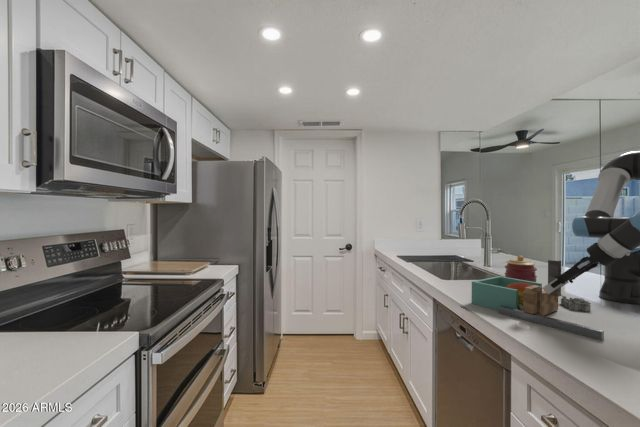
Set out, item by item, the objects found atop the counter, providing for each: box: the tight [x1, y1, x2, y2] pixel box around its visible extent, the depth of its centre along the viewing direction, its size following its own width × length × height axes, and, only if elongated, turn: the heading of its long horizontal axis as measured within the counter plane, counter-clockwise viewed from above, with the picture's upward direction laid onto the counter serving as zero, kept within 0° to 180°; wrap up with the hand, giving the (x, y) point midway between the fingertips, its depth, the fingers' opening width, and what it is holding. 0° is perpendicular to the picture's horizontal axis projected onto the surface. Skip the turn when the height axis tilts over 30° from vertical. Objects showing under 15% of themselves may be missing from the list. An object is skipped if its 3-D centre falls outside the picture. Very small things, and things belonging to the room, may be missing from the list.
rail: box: [497, 306, 605, 341], centre depth 104 cm, size 2×30×2 cm, turn 34°
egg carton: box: [560, 294, 592, 312], centre depth 124 cm, size 11×8×4 cm
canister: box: [504, 255, 538, 282], centre depth 146 cm, size 13×13×18 cm
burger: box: [506, 282, 533, 311], centre depth 121 cm, size 13×14×10 cm
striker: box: [522, 259, 562, 316], centre depth 112 cm, size 23×6×20 cm, turn 124°
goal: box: [471, 275, 543, 311], centre depth 127 cm, size 22×17×9 cm
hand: (548, 290), depth 114 cm, fingers closed on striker, 4 cm apart
